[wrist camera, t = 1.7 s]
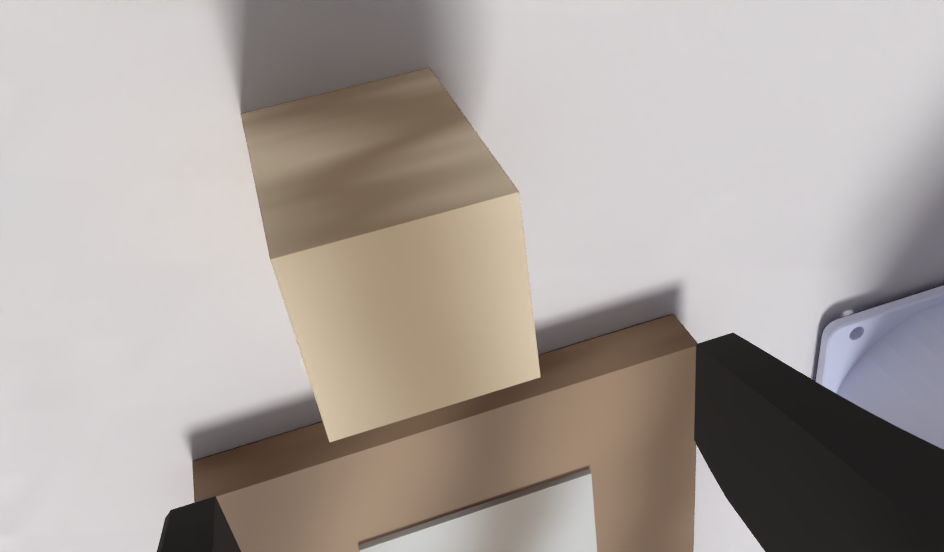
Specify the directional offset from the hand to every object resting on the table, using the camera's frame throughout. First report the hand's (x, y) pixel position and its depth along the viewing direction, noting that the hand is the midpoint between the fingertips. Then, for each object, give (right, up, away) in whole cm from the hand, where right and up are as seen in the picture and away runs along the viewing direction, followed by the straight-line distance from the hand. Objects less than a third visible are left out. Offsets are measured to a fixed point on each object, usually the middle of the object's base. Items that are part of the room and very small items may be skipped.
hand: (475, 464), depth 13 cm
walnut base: (0, -6, +16) cm, 17 cm away
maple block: (-3, +5, +8) cm, 10 cm away
